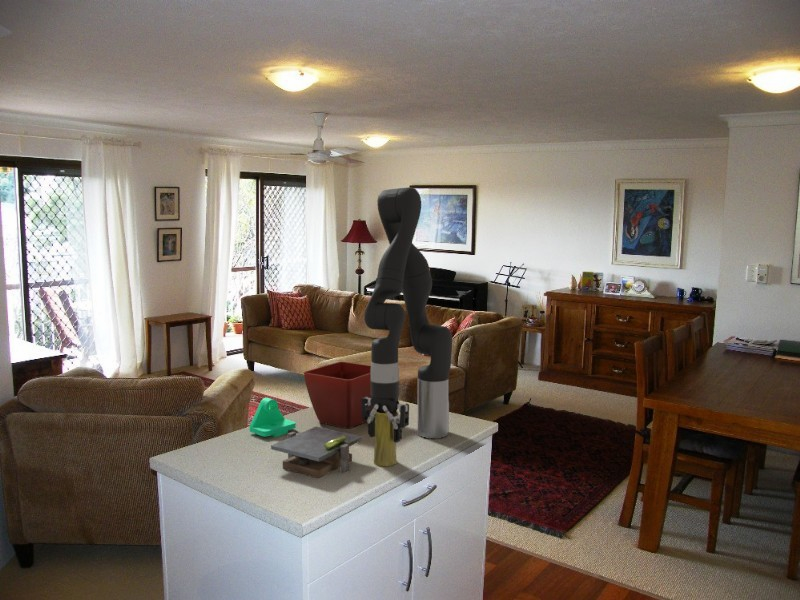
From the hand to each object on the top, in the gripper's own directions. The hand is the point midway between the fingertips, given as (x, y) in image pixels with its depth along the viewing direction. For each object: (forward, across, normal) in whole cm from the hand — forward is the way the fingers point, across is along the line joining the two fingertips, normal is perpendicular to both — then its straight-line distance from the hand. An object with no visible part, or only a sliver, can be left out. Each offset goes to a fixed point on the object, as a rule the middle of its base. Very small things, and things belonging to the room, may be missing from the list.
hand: (384, 439), depth 175 cm
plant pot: (+7, +31, -23) cm, 39 cm away
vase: (+7, 0, 0) cm, 7 cm away
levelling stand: (+7, +14, +11) cm, 19 cm away
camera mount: (+7, +42, -2) cm, 43 cm away
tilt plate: (+1, +14, +11) cm, 18 cm away
